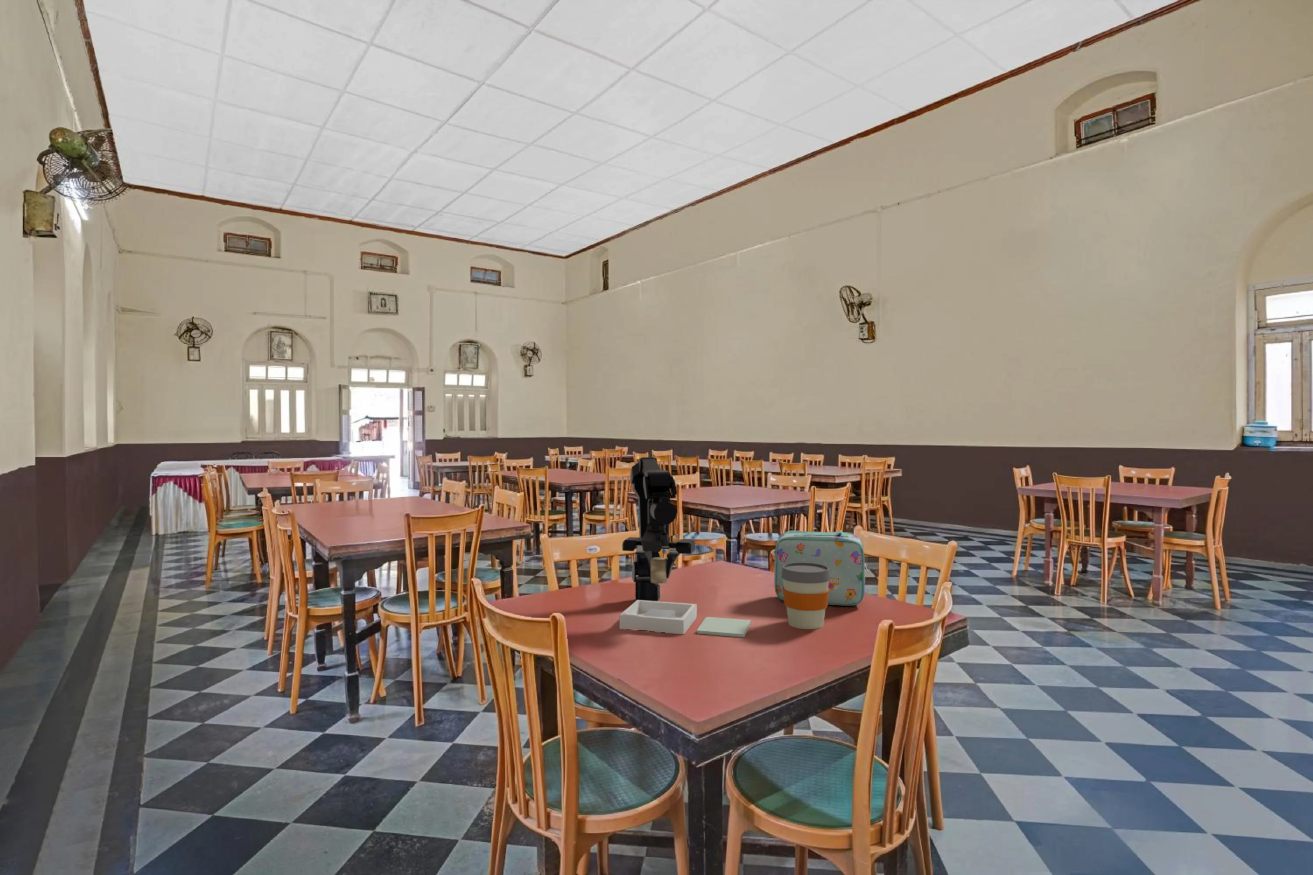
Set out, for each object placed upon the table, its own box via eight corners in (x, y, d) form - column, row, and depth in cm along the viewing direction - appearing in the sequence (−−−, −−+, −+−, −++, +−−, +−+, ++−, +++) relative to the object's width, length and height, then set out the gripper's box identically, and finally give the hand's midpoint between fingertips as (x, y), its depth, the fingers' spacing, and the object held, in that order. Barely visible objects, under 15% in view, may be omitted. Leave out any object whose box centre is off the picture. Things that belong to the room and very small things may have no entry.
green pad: (696, 633, 167) (696, 630, 167) (706, 619, 178) (706, 616, 178) (744, 637, 164) (744, 634, 164) (750, 622, 175) (750, 619, 175)
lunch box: (867, 600, 197) (867, 528, 196) (869, 609, 187) (869, 534, 186) (776, 594, 204) (776, 525, 203) (773, 603, 194) (773, 530, 194)
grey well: (619, 628, 171) (619, 615, 171) (637, 612, 185) (637, 599, 185) (683, 634, 166) (683, 620, 166) (696, 617, 181) (696, 604, 181)
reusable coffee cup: (831, 632, 167) (831, 573, 166) (781, 629, 169) (780, 571, 169) (829, 618, 179) (829, 562, 179) (781, 615, 182) (781, 561, 181)
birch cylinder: (648, 582, 174) (648, 560, 174) (653, 579, 178) (653, 556, 178) (664, 584, 173) (664, 561, 173) (669, 580, 177) (669, 557, 177)
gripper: (615, 522, 170) (615, 582, 170) (685, 524, 165) (686, 587, 165) (628, 516, 181) (629, 573, 181) (695, 518, 176) (696, 577, 176)
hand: (659, 577), depth 175 cm, fingers closed on birch cylinder, 4 cm apart
